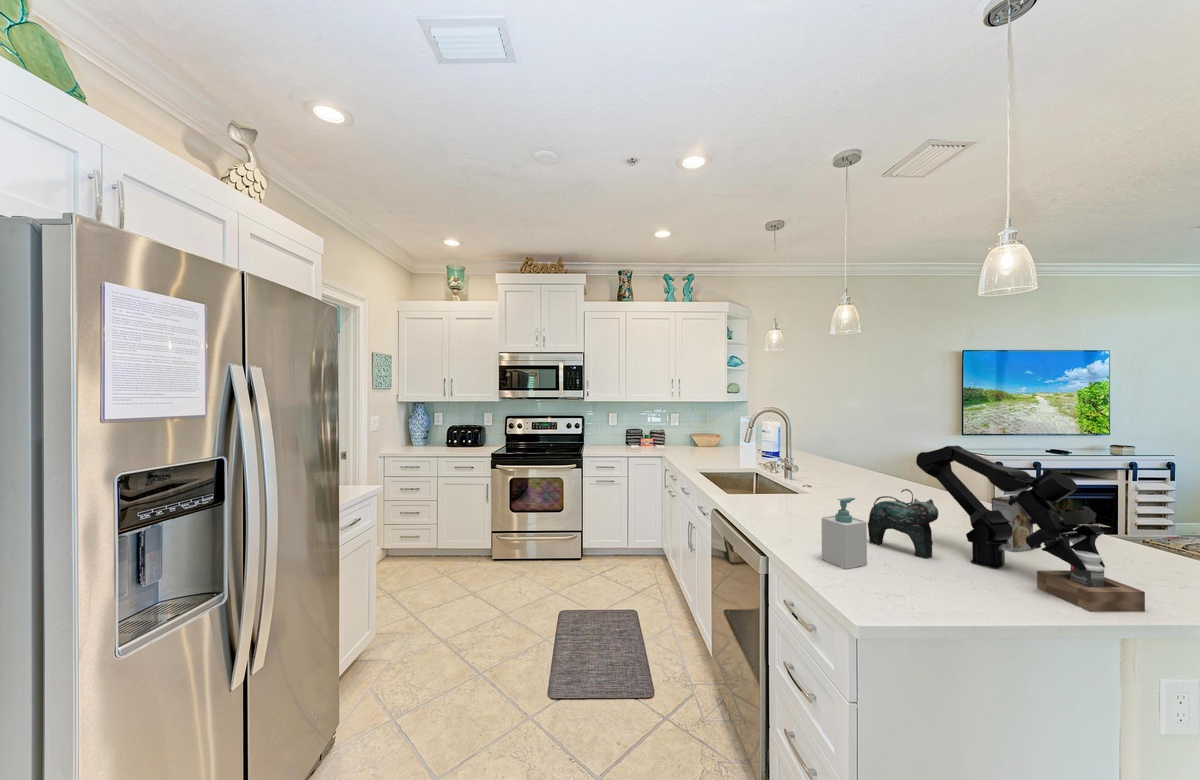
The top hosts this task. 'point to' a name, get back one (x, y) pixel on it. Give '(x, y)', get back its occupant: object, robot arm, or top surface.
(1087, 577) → the pill bottle
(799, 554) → the top surface
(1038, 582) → the walnut socket
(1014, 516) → the coffee box
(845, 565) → the soap bottle
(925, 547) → the ceramic cat
